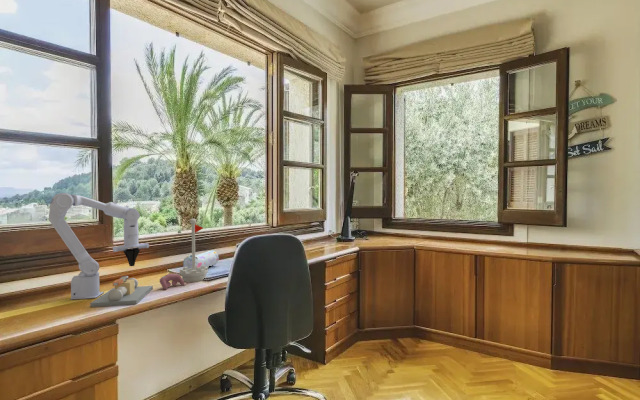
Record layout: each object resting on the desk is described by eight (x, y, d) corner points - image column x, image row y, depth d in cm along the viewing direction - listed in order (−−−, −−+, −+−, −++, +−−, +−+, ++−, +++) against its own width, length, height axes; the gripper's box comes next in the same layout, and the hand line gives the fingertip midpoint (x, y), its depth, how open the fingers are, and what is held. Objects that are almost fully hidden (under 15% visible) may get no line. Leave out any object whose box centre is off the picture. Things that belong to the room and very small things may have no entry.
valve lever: (122, 279, 147) (122, 275, 147) (129, 278, 148) (129, 275, 148) (112, 286, 136) (112, 282, 136) (119, 285, 136) (119, 281, 136)
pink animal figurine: (181, 287, 166) (177, 273, 168) (186, 284, 163) (181, 270, 165) (160, 292, 158) (156, 277, 160) (165, 289, 155) (161, 274, 157)
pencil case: (193, 273, 188) (193, 255, 188) (181, 272, 192) (181, 254, 192) (219, 266, 208) (219, 249, 207) (208, 265, 211) (207, 249, 211)
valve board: (90, 307, 133) (90, 288, 133) (113, 291, 155) (113, 275, 155) (136, 304, 136) (136, 286, 136) (152, 289, 158) (152, 273, 157)
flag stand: (185, 283, 167) (183, 219, 166) (176, 278, 177) (175, 218, 176) (212, 279, 175) (211, 218, 174) (202, 274, 185) (201, 217, 185)
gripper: (117, 237, 149) (117, 269, 150) (151, 234, 161) (152, 264, 161) (110, 236, 154) (111, 267, 154) (144, 233, 165) (145, 262, 165)
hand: (131, 265), depth 158 cm, fingers closed
